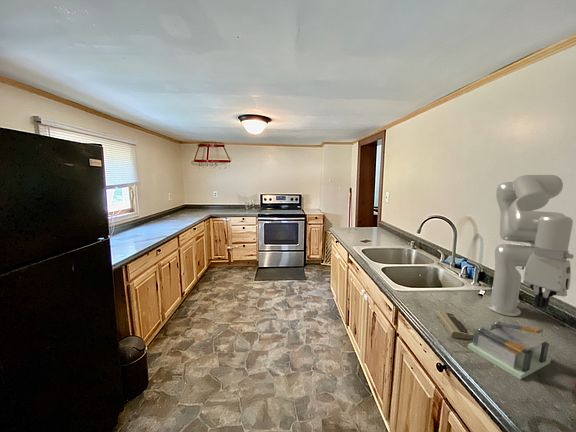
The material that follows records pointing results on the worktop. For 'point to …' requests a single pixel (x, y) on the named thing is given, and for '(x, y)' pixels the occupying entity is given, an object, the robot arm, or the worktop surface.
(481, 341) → the grey rack unit
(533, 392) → the worktop surface
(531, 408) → the worktop surface
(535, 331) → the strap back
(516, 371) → the board
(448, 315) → the computer
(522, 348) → the strip
